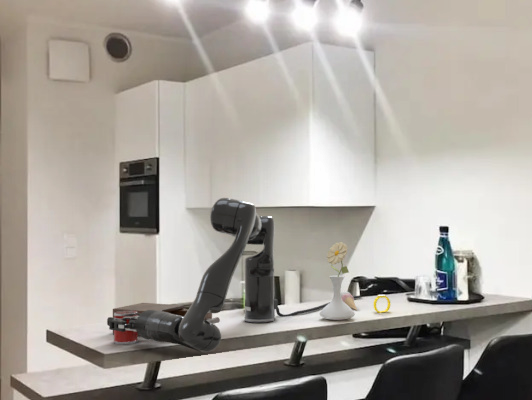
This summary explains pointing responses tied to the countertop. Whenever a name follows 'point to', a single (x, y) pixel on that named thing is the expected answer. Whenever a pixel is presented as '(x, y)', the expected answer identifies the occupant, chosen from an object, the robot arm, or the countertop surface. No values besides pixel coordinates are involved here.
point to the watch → (376, 302)
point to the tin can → (127, 335)
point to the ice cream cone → (348, 299)
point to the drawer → (207, 317)
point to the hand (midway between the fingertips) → (122, 319)
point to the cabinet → (148, 308)
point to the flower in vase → (337, 286)
